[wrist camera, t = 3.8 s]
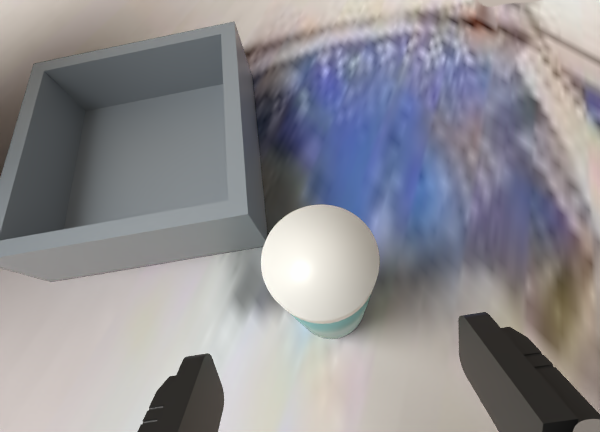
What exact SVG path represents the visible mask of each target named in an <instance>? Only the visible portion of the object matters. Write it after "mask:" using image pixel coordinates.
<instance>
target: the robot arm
mask: <svg viewBox="0 0 600 432" xmlns="http://www.w3.org/2000/svg"><path fill="white" fill-rule="evenodd" d="M459 356H460V361H461V365H462V368H463V370H464V373H465V375H466V376H467V378H468V380H469V382H470V383H471V385H472V387H473V388H474V390H475V392H476V393H477V395H478V397H479V398H480V400H481V402H482V404H483V405H484V407H485V409H486V410H487V412H488V414H489V415H490V417H491V419H492V420H493V422H494V424H495V425H496V427H497V429H498V430H499V432H600V414H599V413H598V412H597V411H596V410H595V409H594V408H593V407H592V406H591V405H590V404H589V403H588V402H587V401H586V399H585V398H584V397H583V396H582V395H581V394H580V393H579V392H578V391H577V390H576V389H575V388H574V387H573V386H572V384H571V383H570V382H569V381H568V380H567V379H566V378H565V377H564V376H563V375H562V374H561V373H560V372H559V371H558V370H557V368H556V367H555V368H554V367H553V364H552V363H551V362H550V361H549V360H548V359H547V358H546V357H545V356H544V355H542V354H541V351H540V350H539V349H538V348H537V347H536V346H535V345H534V344H533V343H532V342H531V341H530V340H529V339H528V338H527V337H526V336H524V335H522V334H521V333H519V332H517V331H516V330H514V329H512V328H511V327H505V328H500V327H499V326H498V324H497V323H496V322H495V321H494V320H493V319H492V318H491V316H490V315H489V314H488V313H486V312H483V313H476V314H470V315H463V316H460V317H459ZM223 406H224V393H223V388H222V385H221V382H220V379H219V376H218V373H217V370H216V368H215V365H214V362H213V359H212V357H211V355H210V354H201V355H195V356H188V357H185V358H184V359H183V361H182V364H181V366H180V368H179V371H178V373H177V375H176V376H170V377H169V378H168V379H167V380H166V381H165V382H164V383H163V385H162V386H161V387H160V388H159V389H158V390H157V392H156V394H155V396H154V398H153V400H152V402H151V405H150V407H149V411H147V413H146V415H145V417H144V419H143V424H142V425H141V426H140V428H139V430H138V432H218V429H219V424H220V420H221V416H222V412H223Z"/></svg>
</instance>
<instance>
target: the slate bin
mask: <svg viewBox="0 0 600 432" xmlns="http://www.w3.org/2000/svg"><path fill="white" fill-rule="evenodd" d="M267 237H268V234H267V223H266V213H265V202H264V192H263V181H262V171H261V160H260V150H259V139H258V129H257V118H256V108H255V97H254V87H253V77H252V74H251V71H250V68H249V65H248V62H247V59H246V56H245V52H244V49H243V46H242V43H241V40H240V37H239V34H238V31H237V28H236V25H235V22H230V23H225V24H220V25H216V26H211V27H206V28H201V29H197V30H192V31H187V32H182V33H177V34H173V35H168V36H163V37H158V38H154V39H149V40H144V41H139V42H135V43H130V44H125V45H120V46H116V47H111V48H106V49H101V50H96V51H92V52H87V53H82V54H77V55H73V56H68V57H63V58H58V59H54V60H49V61H44V62H39V63H35V64H33V68H32V71H31V75H30V78H29V81H28V85H27V88H26V92H25V95H24V99H23V102H22V105H21V109H20V112H19V116H18V119H17V123H16V126H15V129H14V133H13V136H12V140H11V143H10V147H9V150H8V153H7V157H6V160H5V164H4V167H3V171H2V174H1V177H0V268H2V269H6V270H9V271H13V272H17V273H20V274H24V275H28V276H31V277H35V278H39V279H42V280H46V281H50V282H54V281H60V280H66V279H72V278H78V277H84V276H90V275H96V274H102V273H108V272H114V271H120V270H126V269H132V268H138V267H144V266H149V265H155V264H161V263H167V262H173V261H179V260H185V259H191V258H197V257H203V256H209V255H215V254H221V253H227V252H233V251H239V250H245V249H251V248H257V247H263V246H264V244H265V241H266V239H267Z"/></svg>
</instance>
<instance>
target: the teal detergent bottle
mask: <svg viewBox="0 0 600 432" xmlns="http://www.w3.org/2000/svg"><path fill="white" fill-rule="evenodd" d="M379 265H380V258H379V250H378V246H377V243H376V240H375V238H374V236H373V234H372V232H371V231H370V229H369V228H368V227H367V226H366V224H365V223H364V222H363V221H362V220H361V219H360V218H358V217H357V216H356V215H354V214H353V213H351V212H349V211H347V210H345V209H342V208H340V207H336V206H332V205H311V206H306V207H303V208H300V209H297V210H295V211H293V212H291V213H289V214H288V215H286V216H285V217H284V218H282V219H281V220H280V221H279V222H278V223H277V224H276V225H275V226H274V227H273V229H272V230H271V232H270V233H269V235H268V237H267V239H266V241H265V244H264V247H263V251H262V257H261V269H262V275H263V279H264V282H265V284H266V286H267V289H268V290H269V292H270V294H271V295H272V296H273V298H274V299H275V300H276V301H277V302H278V303H279V304H280V305H281V306H282V307H283V308H284V309H286V310H287V311H288V312H289V313H290V314H291V315H292V316H293V317H295V318H296V319H297V320H298V321H299V322H300V323H301V324H302V325H303V326H305V327H306V328H307V329H308V330H309V331H310V332H312V333H313V334H315V335H317V336H319V337H322V338H326V339H337V338H341V337H344V336H346V335H348V334H350V333H351V332H352V331H353V330H354V329H356V327H357V326H358V325H359V323H360V322H361V320H362V317H363V315H364V312H365V309H366V307H367V304H368V301H369V299H370V296H371V293H372V291H373V288H374V285H375V283H376V280H377V276H378V272H379Z"/></svg>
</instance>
